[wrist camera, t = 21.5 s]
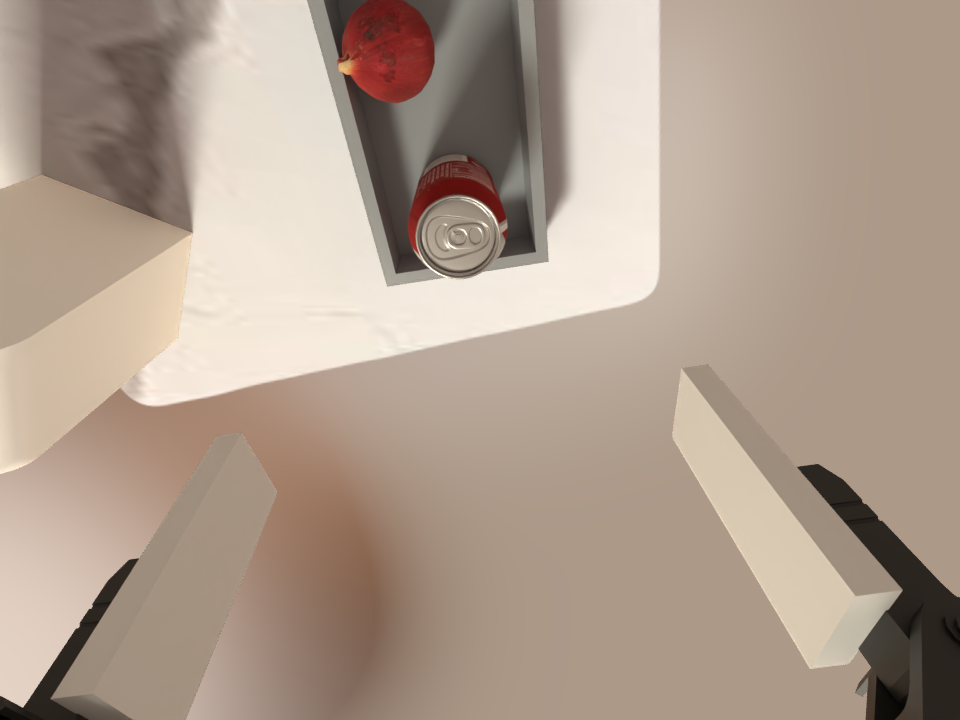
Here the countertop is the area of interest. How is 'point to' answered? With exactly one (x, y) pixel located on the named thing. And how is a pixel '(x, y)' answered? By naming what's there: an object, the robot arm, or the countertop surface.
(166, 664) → the robot arm
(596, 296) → the countertop surface
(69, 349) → the milk
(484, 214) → the soda can
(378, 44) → the onion
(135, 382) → the countertop surface
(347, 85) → the tote
